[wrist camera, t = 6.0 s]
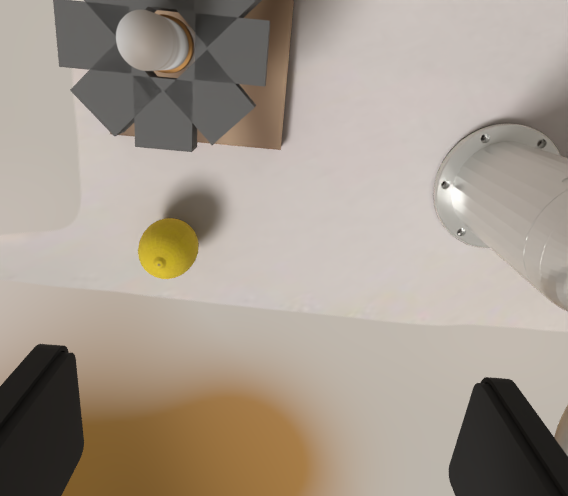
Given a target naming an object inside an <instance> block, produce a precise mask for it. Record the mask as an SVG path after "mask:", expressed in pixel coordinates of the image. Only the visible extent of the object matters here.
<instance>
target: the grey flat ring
mask: <svg viewBox="0 0 568 496" xmlns="http://www.w3.org/2000/svg"><path fill="white" fill-rule="evenodd" d="M84 1H85V2H82V1H72V0H53V2H54V14H55V25H56V36H57V47H58V57H59V66H60V67H69V68H78V69H89V71H88V72H87V73H86V74H85V75H84V76H83V77H82V78H81V79H80V80H79V81H78V82H77V84H76V85H75V86H74V87H73V88H72V89H71V92H72V93H73V94H74V95H75V96H76V97H77V98H78V99H79V100H80V101H81V102H82V103H83V104H84V105H85V106H86V107H87V108H88V109H89V110H90V111H91V112H92V113H93V114H94V116H95V117H96V118H97V119H98V120H99V121H100V122H101V123H102V124H103V125H104V126H105V127H106V128H107V129H108V130H109V131H110V132H111V133H112V134H113V135H114V136H117V135H119V134H121V133H124V132H125V131H126V130H127V129H128V128H129V127H130V126H131V125H132V124H133V123H134V126H135V147H144V148H155V149H166V150H176V151H187V152H192V151H193V150H194V149H195V148H196V147H197V129H198V130H199V131H200V132H201V133H202V134H203V136H204V137H205V138H206V139H207V140H208V141H209V142H210V144H211V145H213V144H214V143H215V142H217V141H218V140H219V139H220V138H221V137H222V136H223V135H224V134H226V133H227V132H228V131H229V130H230V129H231V128H232V127H233V126H235V125H236V124H237V123H238V122H239V121H240V120H241V119H242V118H244V117H245V116H246V115H247V114H248V113H249V112H250V111H251V110H253V109H254V108H255V106H256V104H255V103H254V102H253V100H252V99H251V98H250V97H249V95H248V94H247V93H246V92H245V91H244V89H243V88H242V87H241V86H240V84H243V85H254V86H264V87H265V86H266V77H267V63H268V49H269V35H270V21H268V20H258V19H248V18H244V17H245V16H246V15H247V14H248V13H249V12H250V11H251V10H252V9H253V8H254V7H255V6H257V5H258V4H259V3H260V2H261V1H262V0H84ZM134 10H147V11H150V12H153V13H155V12H156V11H157V10H161V11H171V12H179V14H180V15H181V16H182V17H183V18H184V20H185V21H186V22H187V23H188V25H189V26H190V27H191V28H192V29H193V31H194V32H195V62H194V63H193V64H192V65H191V66H190V67H189V68H188V69H187V70H185V71H184V72H183V73H182V74H181V75H180V76H179V77H178V78H170V77H160V76H157V75H156V74H155V72H154V71H142V70H139V69H136V68H134V67H132V66H131V65H129V64H128V63H127V62H126V61H125V60H124V58H123V57H122V56H121V54H120V52H119V50H118V47H117V43H116V30H117V27H118V24H119V22H120V21H121V19H122V18H123V17H124V16H125V15H126V14H128V13H129V12H131V11H134Z"/></svg>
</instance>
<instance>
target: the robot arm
mask: <svg viewBox="0 0 568 496" xmlns="http://www.w3.org/2000/svg"><path fill="white" fill-rule="evenodd" d="M482 135H484V138H483V139H482V140H481V137H482ZM538 141H539V144H538V145H537V143H538ZM443 181H445V183H444V185H441V184H442V182H443ZM433 199H434V207H435V210H436V213H437V216H438V218H439V220H440V221H441V223H442V225H443V226H444V227H445V228H446V229H447V231H448V232H449V233H450V234H451V235H453V236H454V237H455V238H456V239H458V240H460V241H461V242H463V243H465V244H467V245H471V246H475V247H479V248H491V249H492V250H493V251H494V252H495V253H496V254H497V255H499V256H500V257H501V258H502V259H503V260H504V261H505V262H506V263H507V264H509V265H510V266H511V267H512V268H513V269H514V270H515V271H516V272H518V273H519V274H520V275H521V276H522V277H523V278H524V279H525V280H527V281H528V282H529V283H530V284H531V285H532V286H533V287H535V288H536V289H537V290H538V291H539V292H540V293H542V294H543V295H544V296H545V297H546V298H547V299H548V300H550V301H551V302H552V303H554V304H555V305H557V306H558V307H560V308H562V309H564V310H566V311H568V158H566V157H563V156H561V155H560V153H559V151H558V149H557V147H556V146H555V144H554V143H553V142H552V141H551V140H550V138H548V137H547V136H546V135H544V134H543V133H542V132H540V131H538V130H535V129H533V128H531V127H528V126H524V125H520V124H510V123H505V124H495V125H492V126H488V127H485V128H482V129H480V130H478V131H476V132H474V133H472V134H470V135H468V136H467V137H466V138H464V139H463V140H461V141H460V142H459V143H458V144H457V145H456V146H455V147H454V148H453V149H452V150H451V151H450V152H449V154H448V155H447V157H446V158H445V159H444V161H443V162H442V164H441V167H440V169H439V171H438V173H437V176H436V180H435V184H434V193H433ZM459 229H460V231H458V230H459ZM457 231H458V232H457ZM81 419H82V418H81V408H80V398H79V388H78V378H77V368H76V359H75V355H74V354H73V353H68V349H67V347H65V346H60V345H45V344H39V345H37V346H36V347H34V349H33V350H32V351H31V352H30V353H29V354H28V355H27V357H26V358H25V359H24V360H23V361H22V362H21V363H20V365H19V366H18V367H17V368H16V369H15V370H14V371H13V373H12V374H11V375H10V376H9V377H8V378H7V379H6V381H5V382H4V383H3V384H2V385H1V386H0V496H61V495H62V493H63V491H64V489H65V487H66V485H67V483H68V481H69V479H70V477H71V475H72V474H73V472H74V469H75V468H76V466H77V464H78V462H79V460H80V458H81V455H82V452H83V447H84V438H83V428H82V420H81ZM449 478H450V483H451V486H452V488H453V491H454V493H455V495H456V496H568V405H567V407H566V409H565V411H564V413H563V415H562V417H561V419H560V422H559V424H558V426H557V430H556V433H555V437H553V435H552V434H551V433H550V431H549V430H548V428H547V427H546V426H545V424H544V423H543V421H542V420H541V419H540V417H539V416H538V415H537V413H536V412H535V410H534V409H533V408H532V406H531V405H530V404H529V402H528V401H527V399H526V398H525V397H524V395H523V394H522V393H521V391H520V390H519V388H518V387H517V386H516V384H515V383H514V382H513V381H512V380H510V379H502V378H488V377H486V378H484V379H483V380H482V381H481V383H477V384H475V386H474V388H473V391H472V394H471V397H470V401H469V404H468V407H467V410H466V414H465V417H464V420H463V423H462V426H461V430H460V433H459V436H458V439H457V443H456V446H455V449H454V452H453V455H452V459H451V462H450V465H449Z"/></svg>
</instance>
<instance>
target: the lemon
mask: <svg viewBox="0 0 568 496" xmlns="http://www.w3.org/2000/svg"><path fill="white" fill-rule="evenodd" d="M138 254H139V260H140V262H141V265H142V266H143V268H144V269H145V270H146V271H147V272H148V273H149V274H151V275H153V276H155V277H157V278H161V279H170V278H175V277H178V276H180V275H182V274H183V273H185V272H186V271H187V270H188V269H189V268H190V267H191V266H192V264H193V263H194V261H195V259H196V257H197V254H198V239H197V236H196V234H195V232H194V230H193V229H192V228H191V227H190V226H189V225H188V224H187V223H185V222H184V221H181V220H179V219H174V218H166V219H162V220H159V221H156V222H155V223H153V224H152V225H150V226H149V227H148V228H147V230H146V231H145V232H144V233H143V235H142V237H141V239H140V242H139V248H138Z"/></svg>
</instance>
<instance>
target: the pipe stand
mask: <svg viewBox="0 0 568 496" xmlns="http://www.w3.org/2000/svg"><path fill="white" fill-rule="evenodd" d="M293 4H294V0H262V1H261V2H260V3H259V4H258V5H257V6H255V7H254V8H253V9H252V10H251V11H250V12H249V13H248V14H247V15H246V16H245V17H244V18H248V19H258V20H268V21H270V35H269V49H268V63H267V77H266V86H265V87H264V86H254V85H243V84H240V86H241V87H242V88H243V89H244V91H245V92H246V93H247V94H248V95H249V97H250V98H251V99H252V100H253V102H254V103H255V104H256V106H255V108H254V109H253V110H251V111H250V112H249V113H248V114H247V115H246V116H245V117H244V118H242V119H241V120H240V121H239V122H238V123H237V124H236V125H235V126H233V127H232V128H231V129H230V130H229V131H228V132H227V133H226V134H224V135H223V136H222V137H221V138H220V139H219V140H218V141H217V142H215V143H214V144H223V145H234V146H245V147H255V148H266V149H277V150H281V140H282V129H283V117H284V106H285V95H286V83H287V72H288V61H289V49H290V38H291V26H292V15H293ZM116 43H117V47H118V50H119V52H120V54H121V56H122V57H123V58H124V60H125V61H126V62H127V63H128V64H129V65H131V66H132V67H134V68H136V69H139V70H142V71H154V72H155V74H156V75H157V76H160V77H170V78H178V77H179V76H180V75H181V74H182V73H183V72H184V71H185V70H187V69H188V68H189V67H190V66H191V65H192V64H193V63H194V62H195V32H194V31H193V29H192V28H191V27H190V26H189V25H188V23H187V22H186V21H185V20H184V18H183V17H182V16H181V15H180V14H179V12H171V11H161V10H157V11H156V12H155V13H153V12H150V11H147V10H134V11H131V12H129V13H128V14H126V15H125V16H124V17H123V18H122V19H121V21H120V22H119V24H118V27H117V30H116ZM110 133H111V132H110ZM111 134H112V133H111ZM119 135H125V136H135V126H134V123H133V124H132V125H131V126H130V127H129V128H128V129H127V130H126V131H125V132H124V133H121V134H119ZM197 142H201V143H210V142H209V141H208V140H207V139H206V138H205V137H204V136H203V134H202V133H201V132H200V131H199V130H198V129H197Z"/></svg>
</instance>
